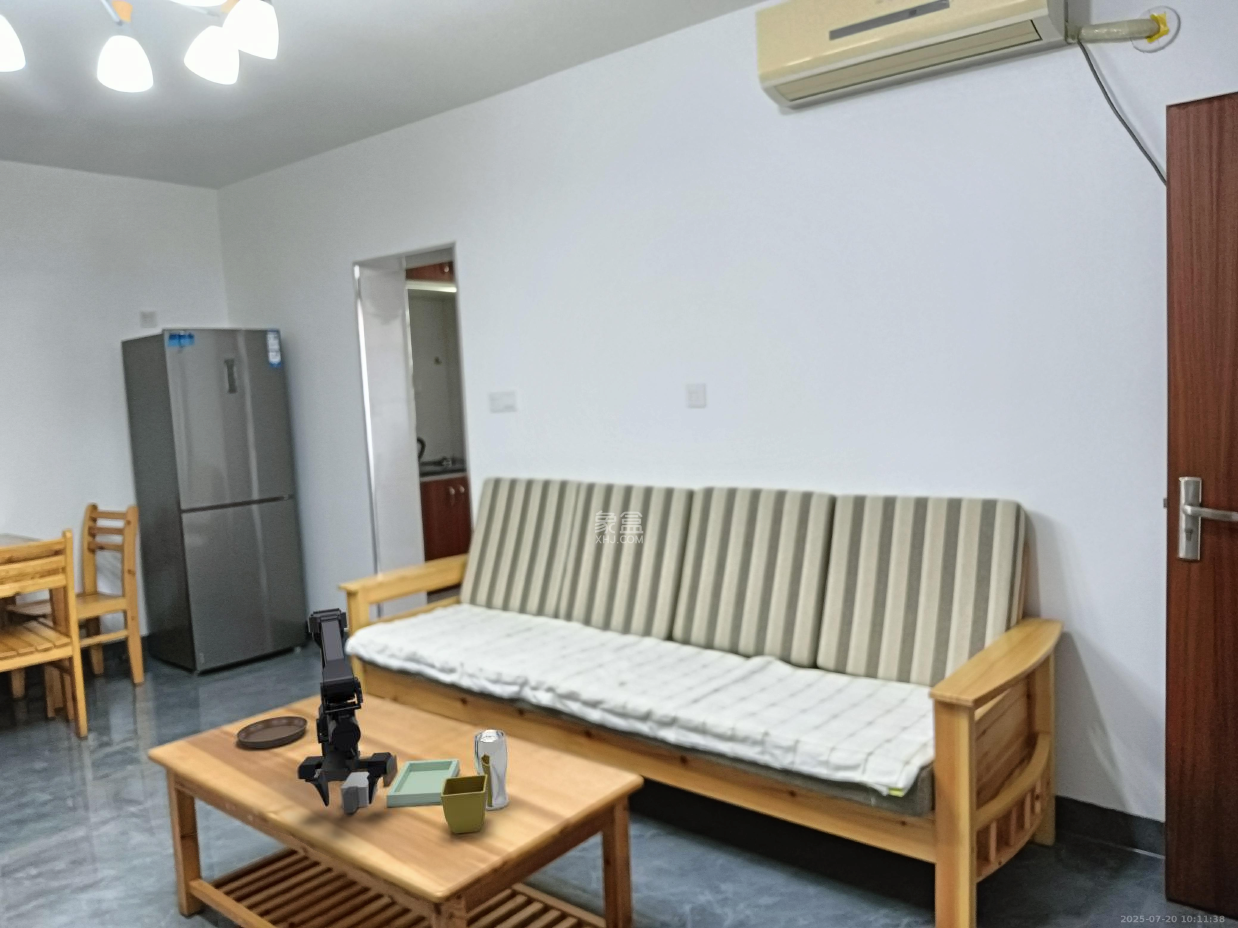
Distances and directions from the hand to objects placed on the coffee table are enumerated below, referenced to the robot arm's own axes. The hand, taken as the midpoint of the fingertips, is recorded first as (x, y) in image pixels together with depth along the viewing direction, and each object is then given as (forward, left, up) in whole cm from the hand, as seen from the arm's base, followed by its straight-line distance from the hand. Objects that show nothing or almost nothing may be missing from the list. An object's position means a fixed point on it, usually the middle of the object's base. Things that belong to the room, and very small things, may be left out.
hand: (349, 804), depth 193 cm
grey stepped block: (0, +5, -2) cm, 6 cm away
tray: (+13, +11, -2) cm, 18 cm away
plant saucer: (-35, +47, -3) cm, 59 cm away
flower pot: (+26, -9, -2) cm, 28 cm away
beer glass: (+30, +1, -2) cm, 31 cm away
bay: (0, +17, -2) cm, 17 cm away
